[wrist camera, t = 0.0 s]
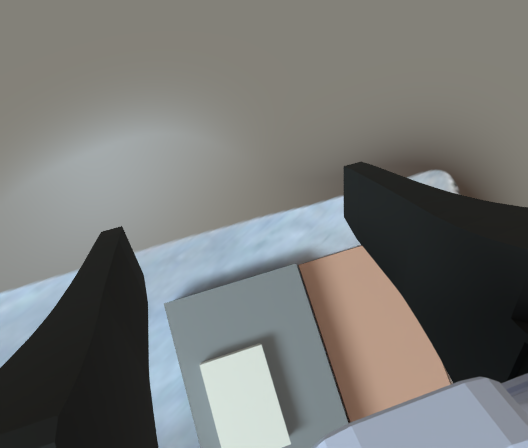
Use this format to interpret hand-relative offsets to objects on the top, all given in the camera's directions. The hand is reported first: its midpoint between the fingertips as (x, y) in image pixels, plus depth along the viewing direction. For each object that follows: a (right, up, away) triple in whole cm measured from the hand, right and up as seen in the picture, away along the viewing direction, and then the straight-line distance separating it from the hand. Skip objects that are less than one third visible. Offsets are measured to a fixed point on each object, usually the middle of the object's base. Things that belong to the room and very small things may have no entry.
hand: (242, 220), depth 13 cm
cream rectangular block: (-1, -17, +25) cm, 30 cm away
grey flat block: (0, -17, +29) cm, 34 cm away
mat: (+14, -13, +31) cm, 37 cm away
